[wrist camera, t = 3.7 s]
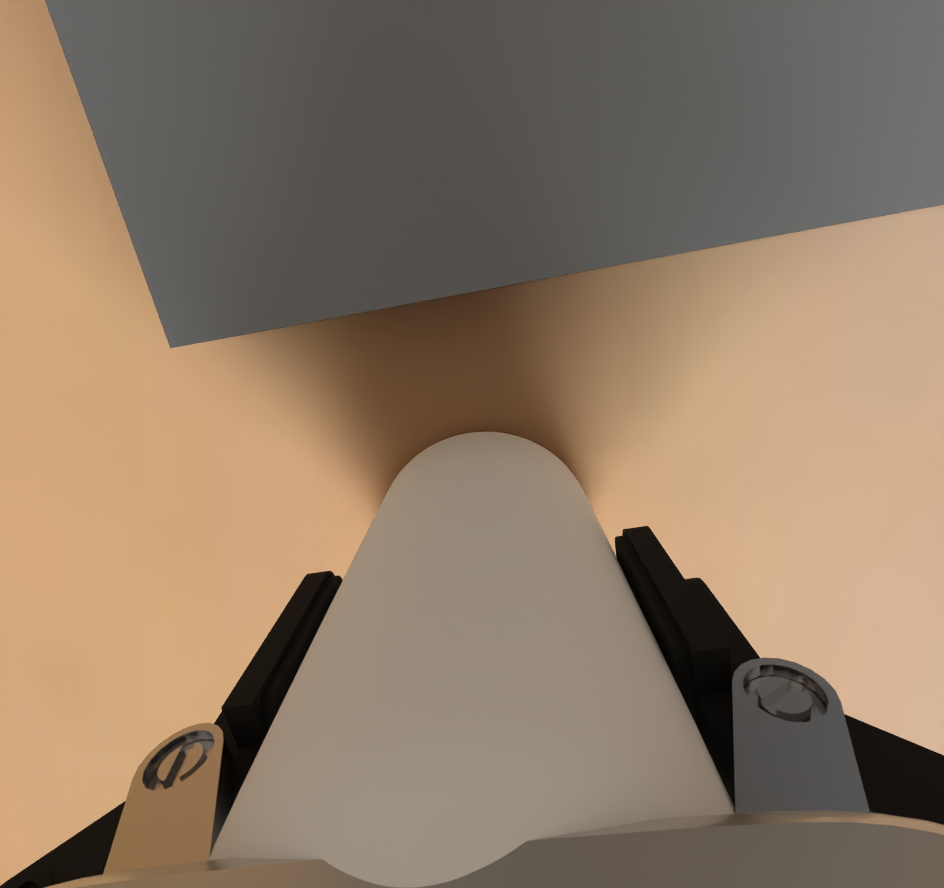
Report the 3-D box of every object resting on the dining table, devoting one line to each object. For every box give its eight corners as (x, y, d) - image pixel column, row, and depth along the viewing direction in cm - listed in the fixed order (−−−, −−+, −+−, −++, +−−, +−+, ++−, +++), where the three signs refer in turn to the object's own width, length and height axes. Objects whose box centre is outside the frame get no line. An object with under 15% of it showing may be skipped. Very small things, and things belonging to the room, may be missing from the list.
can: (414, 398, 14) (96, 865, 3) (620, 462, 14) (1116, 1106, 3) (363, 580, 16) (55, 1301, 5) (547, 632, 16) (682, 1413, 5)
